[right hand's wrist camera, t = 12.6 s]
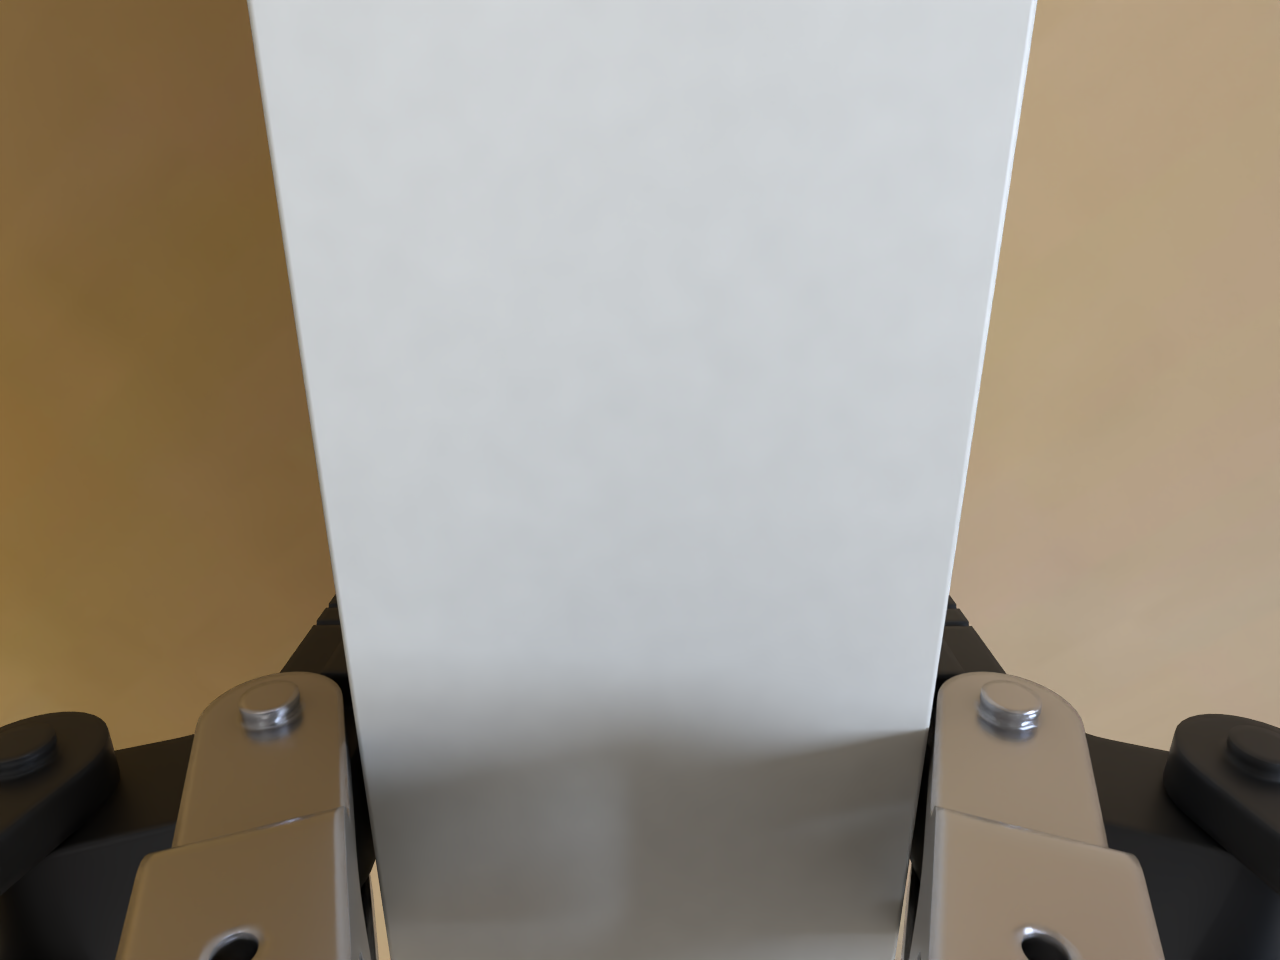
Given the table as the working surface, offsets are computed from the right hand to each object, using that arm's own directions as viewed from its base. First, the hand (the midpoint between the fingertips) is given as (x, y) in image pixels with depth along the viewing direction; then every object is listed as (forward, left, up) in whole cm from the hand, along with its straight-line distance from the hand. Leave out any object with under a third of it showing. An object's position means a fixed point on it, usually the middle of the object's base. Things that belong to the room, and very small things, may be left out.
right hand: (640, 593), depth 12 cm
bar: (+8, -24, -2) cm, 25 cm away
